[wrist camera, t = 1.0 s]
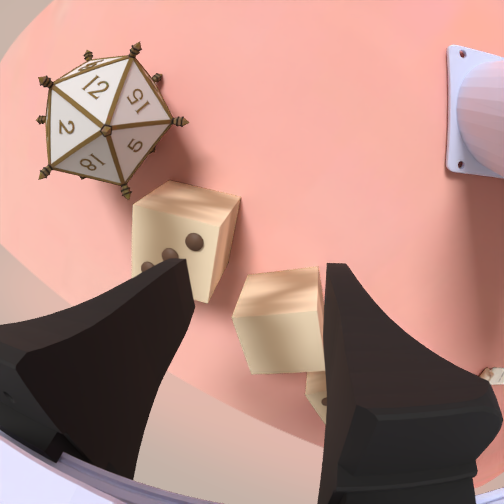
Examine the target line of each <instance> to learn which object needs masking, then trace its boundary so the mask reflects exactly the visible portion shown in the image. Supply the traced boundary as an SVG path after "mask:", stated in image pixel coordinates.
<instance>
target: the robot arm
mask: <svg viewBox="0 0 504 504" xmlns="http://www.w3.org/2000/svg"><path fill="white" fill-rule="evenodd" d="M460 51H462V52H463V53H464V58H462V57H461V56H460V54H459V52H460ZM447 67H448V135H447V153H446V167H447V168H448V169H449V170H450V171H452V172H457V173H465V174H474V175H481V176H489V177H496V178H503V179H504V58H503V57H499V56H496V55H493V54H489V53H486V52H482V51H478V50H475V49H471V48H467V47H462V46H458V45H450V46H448V48H447ZM460 161H462V167H461V168H458V163H459V162H460ZM194 309H195V304H194V299H193V293H192V288H191V283H190V277H189V272H188V266H187V260H186V259H179V258H170V259H167V260H165V261H162V262H160V263H158V264H157V265H155V266H153V267H151V268H149V269H147V270H146V271H144V272H142V273H140V274H138V275H137V276H135V277H133V278H131V279H130V280H128V281H126V282H124V283H122V284H120V285H118V286H116V287H115V288H113V289H111V290H109V291H107V292H105V293H103V294H101V295H99V296H97V297H95V298H93V299H90V300H88V301H86V302H83V303H81V304H79V305H76V306H73V307H71V308H68V309H65V310H62V311H59V312H56V313H53V314H50V315H47V316H43V317H39V318H35V319H31V320H27V321H22V322H17V323H11V324H4V325H0V504H223V503H217V502H212V501H207V500H202V499H198V498H193V497H189V496H185V495H181V494H177V493H173V492H170V491H166V490H162V489H159V488H155V487H152V486H149V485H146V484H143V483H139V482H136V481H133V478H134V473H135V468H136V463H137V458H138V453H139V449H140V446H141V441H142V438H143V434H144V430H145V427H146V424H147V420H148V417H149V414H150V411H151V408H152V405H153V402H154V399H155V396H156V394H157V391H158V388H159V386H160V384H161V381H162V379H163V377H164V375H165V373H166V371H167V369H168V367H169V365H170V363H171V361H172V359H173V357H174V355H175V354H176V352H177V350H178V348H179V346H180V344H181V342H182V340H183V338H184V336H185V334H186V332H187V330H188V327H189V324H190V321H191V318H192V315H193V312H194ZM323 348H324V361H325V375H326V390H327V412H326V427H325V440H324V452H323V462H322V472H321V480H320V488H319V496H318V504H504V487H503V488H499V489H496V490H493V491H490V492H486V493H483V494H479V495H475V492H474V485H473V479H472V478H473V477H475V476H476V475H477V466H476V461H475V460H476V459H477V458H478V457H479V456H480V454H481V453H482V452H483V451H484V450H485V449H486V448H487V447H488V445H489V444H490V443H491V442H492V441H493V440H494V438H495V437H496V435H497V434H498V432H499V430H500V429H501V425H502V422H503V418H502V414H501V411H500V408H499V405H498V402H497V399H496V396H495V394H494V391H493V389H492V387H491V385H490V383H489V381H487V380H485V379H483V378H481V377H479V376H477V375H475V374H472V373H470V372H468V371H466V370H464V369H462V368H460V367H458V366H456V365H454V364H452V363H451V362H449V361H447V360H445V359H444V358H442V357H440V356H439V355H437V354H435V353H434V352H432V351H431V350H429V349H428V348H426V347H425V346H424V345H422V344H421V343H419V342H418V341H417V340H415V339H414V338H413V337H411V336H410V335H409V334H407V333H406V332H405V331H404V330H403V329H402V328H400V327H399V326H398V325H397V324H396V323H395V322H394V321H393V320H391V319H390V318H389V317H388V316H387V315H386V314H385V313H384V312H383V311H382V309H381V308H380V307H379V306H378V305H377V304H376V303H375V302H374V300H373V299H372V298H371V297H370V295H369V294H368V293H367V292H366V291H365V289H364V288H363V287H362V285H361V284H360V283H359V281H358V280H357V278H356V277H355V276H354V274H353V273H352V271H351V270H350V268H349V267H348V266H347V264H342V263H327V271H326V288H325V302H324V318H323Z"/></svg>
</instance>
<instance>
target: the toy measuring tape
mask: <svg viewBox="0 0 504 504" xmlns="http://www.w3.org/2000/svg"><path fill="white" fill-rule="evenodd" d="M479 377H481V378H483V379H485V380H487V381H489V383H490V384H491V385H492V384H493V385H498V384H500V385H501V384H504V368H499V367H498V368H496V367H494V368H492V369H491V370H490V369H489V368H488V367H487V368H486V369H485V370H484V371H483V372H482V374H481V375H480V376H479Z"/></svg>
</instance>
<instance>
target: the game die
mask: <svg viewBox="0 0 504 504" xmlns="http://www.w3.org/2000/svg"><path fill="white" fill-rule="evenodd" d="M140 50H142V49H141V44H140V42H138V43H136V44H135V45H132V48H131V49H130V54H129V55H127V56H117V57H108V58H100V59H92V57H93V55H92V52H90V51H88V50H87V51H86V53H85V55H84V57H85V58H84V59H85V60H86V61H87V62H85V63H83V64H82V65H80V66H78V67H76V68H75V69H73V70H72V71H70V72H68V73H67V74H65V75H63V76H62V77H60V78H59V79H57V80H56V81H54V82H52V81H51V78H48V77H47V76H45V77H38V79H39V82H40V86H41V85H43V87H48V88H49V92H48V99H47V108H46V116H40V115H39V117H38V118H37V119H36V121H37V122H38V123H39V125H40V124H41V123H42V124H44V123H45V124H46V141H47V154H48V166H47V167H43V169H42V170H40V175H39V179H38V180H40V179H43V178H47V176H48V175H50V172H51V170H56V171H60V172H65V173H69V174H73V175H78V176H80V178H81V180H82V179H84V178H90V179H95V180H99V181H103V182H107V183H111V184H115V185H119V186H121V187H122V190H121V192H122V194H123V195H122V196H124V197H125V198H127V199H128V200H129V199H130V194H131V191H130V187H128V186H127V183H128V181H129V180H130V178H131V177H132V176H133V174H134V173H135V172H136V170H137V169H138V168H139V166H140V165H141V164H142V162H143V161H144V160H145V158H146V157H147V156H148V154H149V153H152V152H155V145H156V144H157V143H158V142H159V140H160V139H161V138H162V137H163V135H164V134H165V133H166V132H167V130H168V129H169V128H170V127H171V125H172V124H175V125H176V126H181V127H183V126H184V125H186V124H188V123H190V122H188V121H187V120H186V119H184V117H182V118H181V117H178V118H173V117H172V115H171V113H170V111H169V109H168V107H167V105H166V103H165V101H164V99H163V97H162V95H161V93H160V92H159V90H158V88H157V86H156V84H155V82H159V80H161V77H162V74H158V73H156V74H155V75H154V76H153V77H152V78H151V76H150V75H149V74H148V73H147V71H146V70H145V69H144V68H143V66H142V65H141V64H140V63H139V61H138V60H137V59H136V58H135V57H136V55H138V54H139V53H140V52H139V51H140Z"/></svg>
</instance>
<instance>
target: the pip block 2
mask: <svg viewBox="0 0 504 504" xmlns="http://www.w3.org/2000/svg"><path fill="white" fill-rule="evenodd" d="M305 396H306V397H307V399H308V400H309V402H310V403H311V405H312V406H313V408H314V409H315V411H316V412H317V413H318V415H319V416H320V418H321V419H322V421H323V422H324V424H325V425H326V412H327V390H326V375H325V371H314V372H307V379H306V390H305Z"/></svg>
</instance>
